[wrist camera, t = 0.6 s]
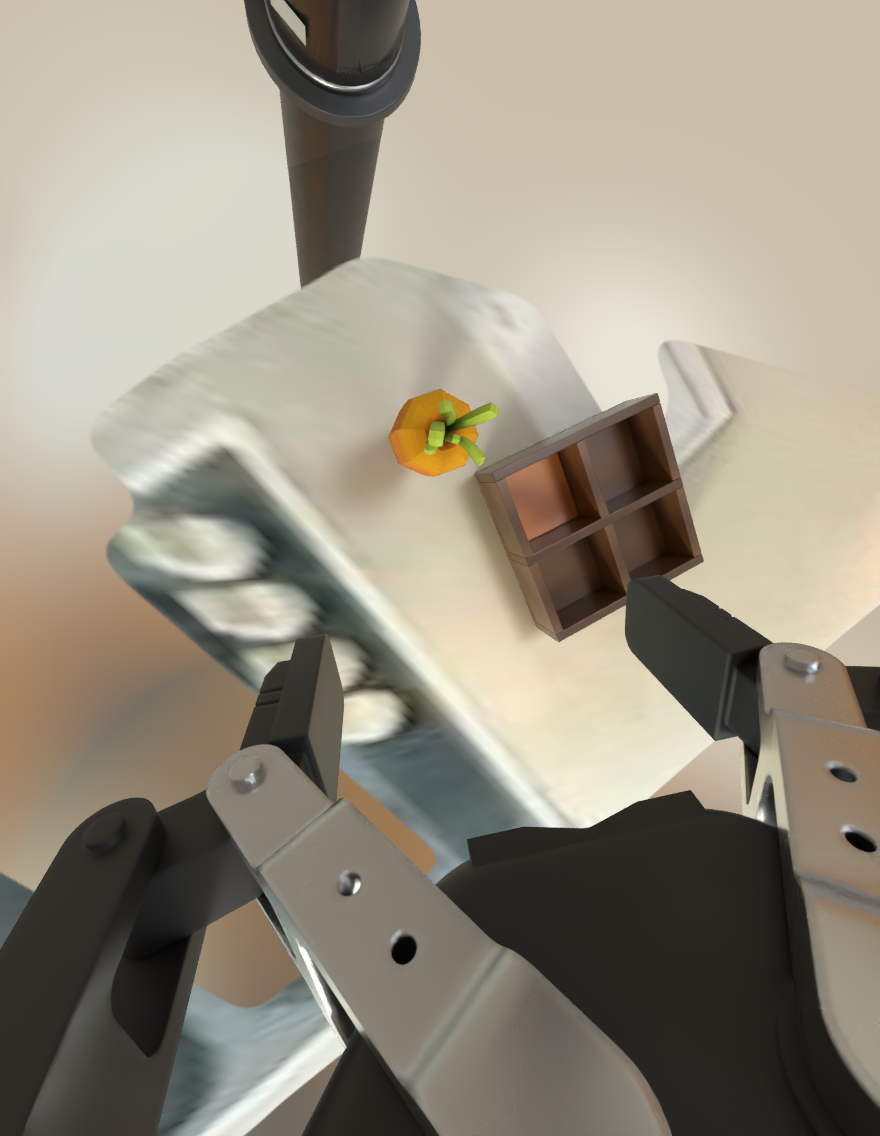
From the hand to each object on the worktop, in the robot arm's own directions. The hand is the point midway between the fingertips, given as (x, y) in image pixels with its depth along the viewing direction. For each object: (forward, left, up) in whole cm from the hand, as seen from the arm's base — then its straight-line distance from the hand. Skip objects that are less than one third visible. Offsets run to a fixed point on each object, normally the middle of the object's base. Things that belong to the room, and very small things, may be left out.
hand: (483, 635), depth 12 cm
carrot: (-5, +5, -26) cm, 27 cm away
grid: (+7, +17, -26) cm, 32 cm away
